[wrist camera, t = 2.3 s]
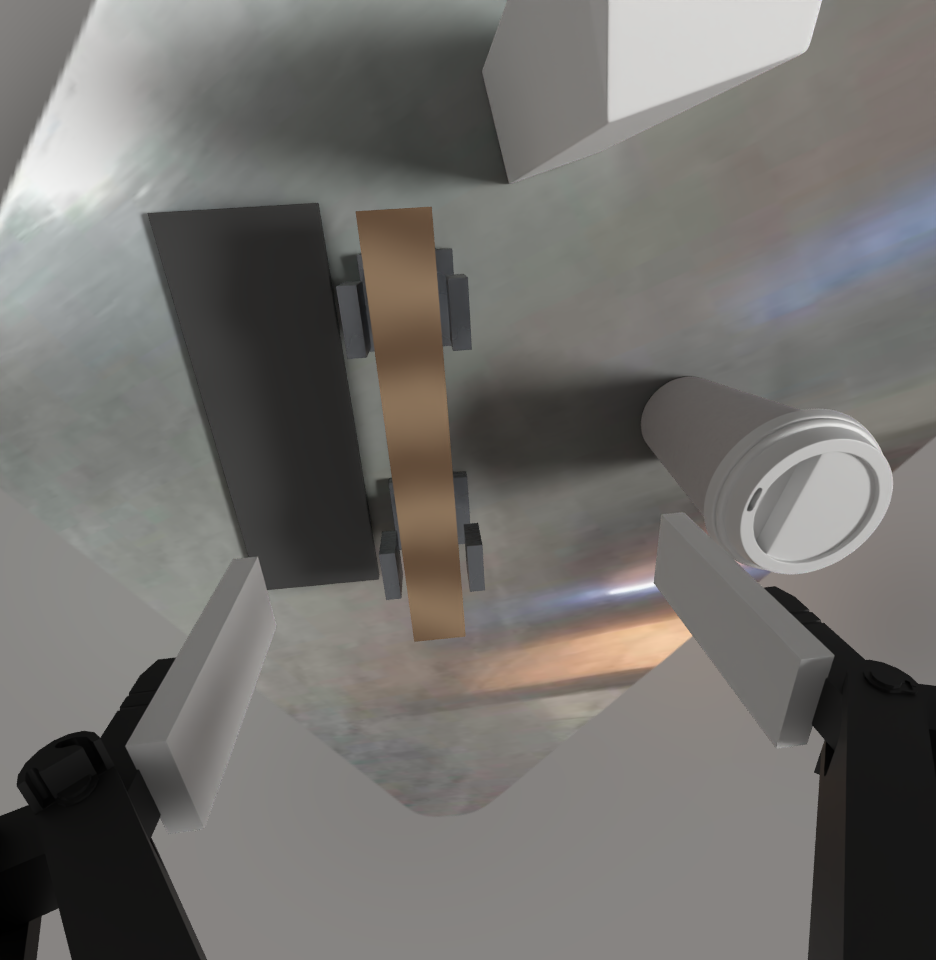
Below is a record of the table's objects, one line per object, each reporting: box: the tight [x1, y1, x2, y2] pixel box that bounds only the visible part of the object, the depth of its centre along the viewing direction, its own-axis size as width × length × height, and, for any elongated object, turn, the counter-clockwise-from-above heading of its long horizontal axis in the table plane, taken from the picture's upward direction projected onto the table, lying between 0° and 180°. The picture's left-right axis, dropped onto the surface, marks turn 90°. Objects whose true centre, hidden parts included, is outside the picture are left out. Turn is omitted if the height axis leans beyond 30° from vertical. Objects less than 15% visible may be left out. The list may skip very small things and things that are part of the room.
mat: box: [148, 203, 379, 590], centre depth 37 cm, size 28×10×1 cm, turn 3°
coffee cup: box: [641, 377, 893, 574], centre depth 33 cm, size 10×10×15 cm
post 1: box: [336, 249, 472, 359], centre depth 30 cm, size 6×7×9 cm
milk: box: [482, 0, 822, 184], centre depth 20 cm, size 6×6×22 cm
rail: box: [356, 207, 465, 642], centre depth 31 cm, size 26×4×4 cm, turn 3°
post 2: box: [379, 472, 485, 600], centre depth 37 cm, size 6×7×9 cm
